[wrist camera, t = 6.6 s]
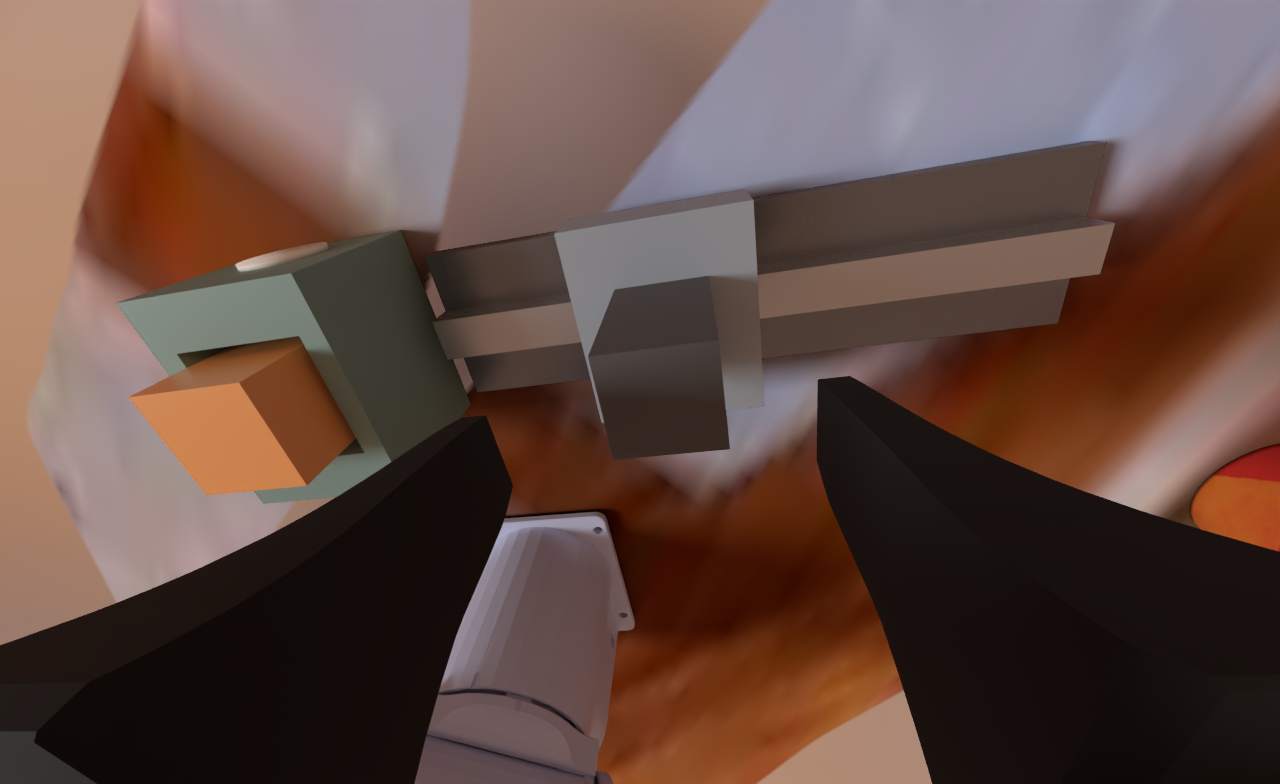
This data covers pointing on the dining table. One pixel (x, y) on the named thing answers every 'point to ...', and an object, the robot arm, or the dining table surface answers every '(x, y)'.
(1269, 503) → the paper cup
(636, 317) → the carriage
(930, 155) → the dining table surface
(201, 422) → the button
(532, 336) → the rail
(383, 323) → the cabinet
